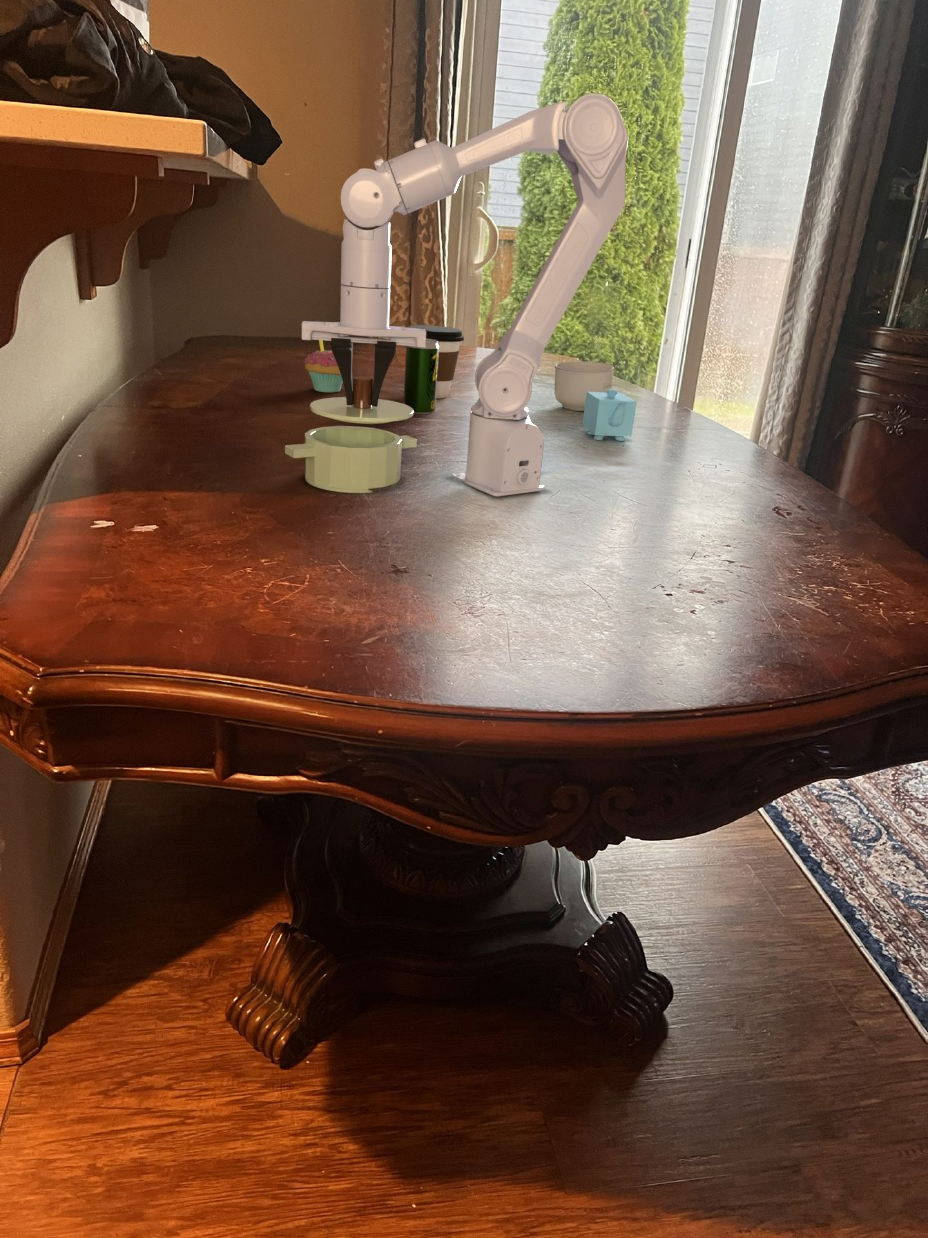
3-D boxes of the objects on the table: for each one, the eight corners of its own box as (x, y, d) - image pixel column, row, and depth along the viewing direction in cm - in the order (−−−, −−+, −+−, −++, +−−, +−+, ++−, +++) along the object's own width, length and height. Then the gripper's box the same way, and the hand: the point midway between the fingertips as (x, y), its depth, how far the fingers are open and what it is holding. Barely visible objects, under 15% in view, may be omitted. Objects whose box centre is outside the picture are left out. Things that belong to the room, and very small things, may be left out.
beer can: (404, 416, 148) (407, 341, 144) (401, 409, 153) (405, 336, 148) (436, 417, 149) (440, 343, 144) (433, 411, 154) (437, 338, 149)
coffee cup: (438, 403, 161) (442, 333, 156) (390, 393, 166) (393, 326, 162) (471, 396, 170) (476, 330, 165) (424, 387, 175) (427, 323, 170)
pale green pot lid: (432, 423, 109) (435, 385, 107) (340, 430, 102) (341, 389, 100) (379, 403, 118) (381, 367, 116) (292, 408, 111) (292, 370, 109)
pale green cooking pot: (435, 484, 111) (438, 441, 109) (312, 499, 102) (312, 453, 100) (386, 462, 120) (388, 422, 118) (268, 474, 110) (267, 430, 108)
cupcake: (297, 391, 162) (297, 321, 157) (312, 384, 169) (313, 317, 165) (343, 396, 161) (345, 326, 156) (356, 388, 168) (358, 322, 164)
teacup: (612, 416, 162) (618, 370, 159) (552, 411, 162) (557, 366, 158) (602, 402, 175) (608, 360, 171) (547, 397, 174) (551, 355, 171)
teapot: (637, 447, 140) (645, 398, 137) (600, 445, 139) (607, 396, 135) (613, 430, 150) (620, 384, 147) (579, 428, 149) (585, 383, 146)
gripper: (425, 288, 108) (419, 401, 114) (304, 279, 107) (304, 394, 112) (429, 292, 102) (422, 412, 107) (300, 283, 100) (300, 405, 106)
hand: (362, 404), depth 109 cm, fingers closed on pale green pot lid, 2 cm apart
